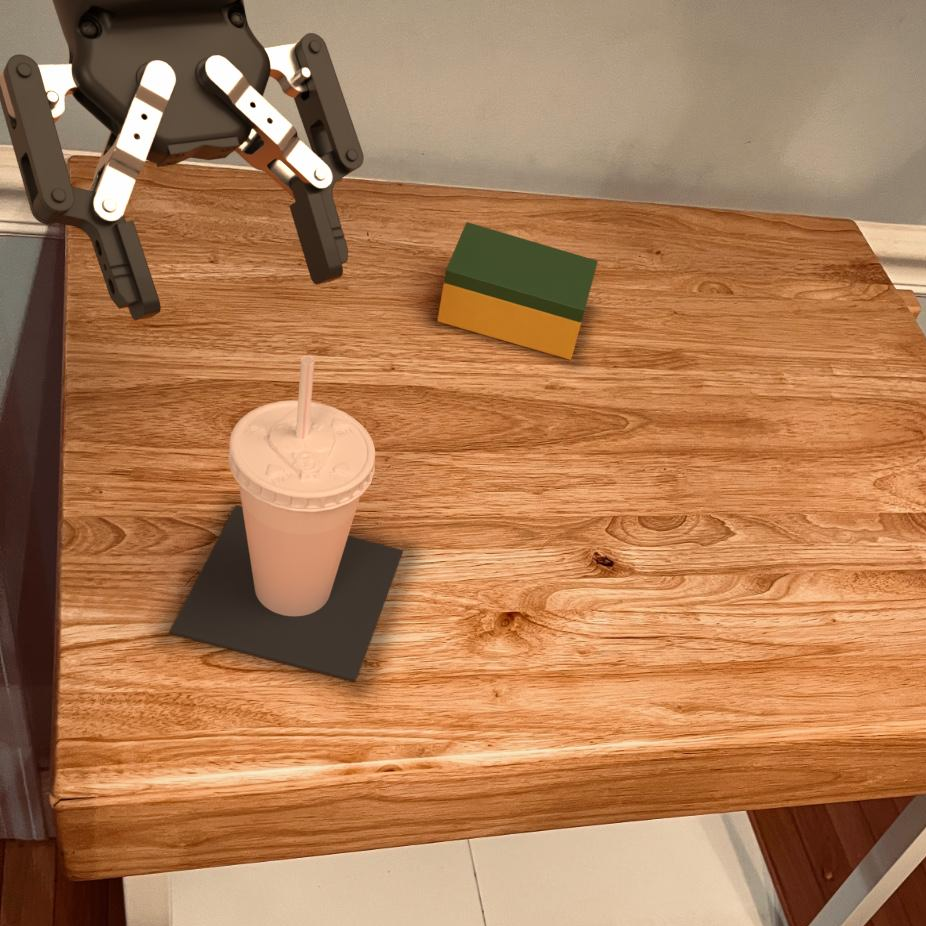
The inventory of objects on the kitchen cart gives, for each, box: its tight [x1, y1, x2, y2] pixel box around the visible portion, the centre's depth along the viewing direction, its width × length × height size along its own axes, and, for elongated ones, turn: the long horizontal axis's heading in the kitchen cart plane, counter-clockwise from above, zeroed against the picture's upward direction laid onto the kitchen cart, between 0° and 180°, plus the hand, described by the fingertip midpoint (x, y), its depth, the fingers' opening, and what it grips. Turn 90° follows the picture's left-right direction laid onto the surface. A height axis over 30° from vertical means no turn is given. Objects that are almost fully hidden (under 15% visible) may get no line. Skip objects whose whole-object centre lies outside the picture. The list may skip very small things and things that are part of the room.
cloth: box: [169, 504, 404, 683], centre depth 60 cm, size 9×9×1 cm
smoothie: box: [227, 355, 376, 616], centre depth 55 cm, size 6×6×14 cm
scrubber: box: [437, 221, 598, 361], centre depth 78 cm, size 9×6×4 cm, turn 83°
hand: (242, 297), depth 53 cm, fingers open, 8 cm apart
